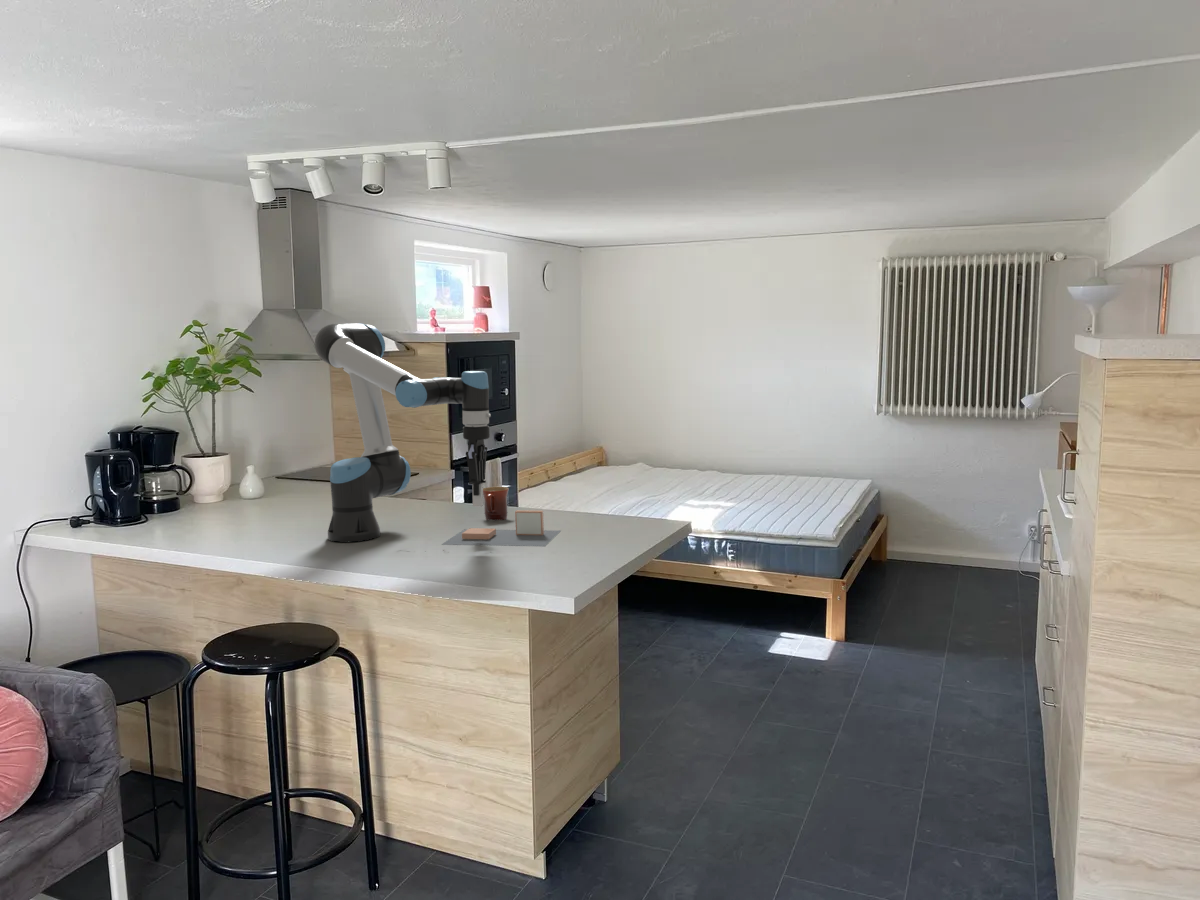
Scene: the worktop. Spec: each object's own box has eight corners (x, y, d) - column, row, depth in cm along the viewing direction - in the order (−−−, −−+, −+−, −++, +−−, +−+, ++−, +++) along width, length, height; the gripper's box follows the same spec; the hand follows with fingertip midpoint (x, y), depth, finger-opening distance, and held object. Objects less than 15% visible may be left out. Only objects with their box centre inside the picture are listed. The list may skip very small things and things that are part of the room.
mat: (441, 548, 245) (441, 544, 245) (464, 532, 265) (464, 529, 265) (545, 550, 240) (545, 546, 240) (561, 534, 260) (561, 530, 260)
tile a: (469, 534, 257) (462, 539, 251) (469, 528, 257) (461, 533, 250) (496, 534, 256) (488, 540, 249) (495, 528, 256) (488, 533, 249)
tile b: (515, 535, 255) (514, 511, 254) (517, 533, 257) (516, 510, 256) (542, 535, 253) (541, 511, 253) (543, 534, 255) (543, 510, 254)
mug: (487, 517, 289) (486, 486, 287) (513, 517, 287) (512, 486, 286) (475, 524, 277) (474, 492, 276) (501, 525, 275) (500, 493, 274)
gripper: (481, 427, 244) (483, 510, 247) (495, 423, 256) (496, 501, 259) (456, 427, 245) (458, 509, 248) (470, 422, 258) (472, 501, 261)
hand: (478, 505), depth 254 cm, fingers closed
